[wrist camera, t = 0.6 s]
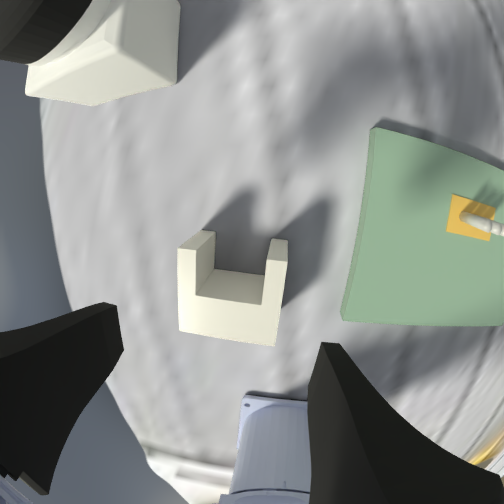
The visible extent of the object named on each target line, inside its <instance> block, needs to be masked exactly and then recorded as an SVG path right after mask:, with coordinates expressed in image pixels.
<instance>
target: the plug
mask: <svg viewBox="0 0 504 504" xmlns="http://www.w3.org/2000/svg"><path fill="white" fill-rule="evenodd" d="M215 241H216V232H213V231H204V230H200V231H199V232H198V233H196V234H195V235H194V236H192V237H191V238H190V239H189V240H187V241H186V242H185V243H183V244H182V245H181V246H179V247H178V310H179V331H184V332H189V333H194V334H199V335H205V336H210V337H216V338H221V339H227V340H234V341H240V342H247V343H253V344H261V345H268V346H275V341H276V335H277V329H278V323H279V317H280V310H281V304H282V297H283V291H284V284H285V277H286V270H287V263H288V240H282V239H273V238H272V239H271V243H270V248H269V252H268V256H267V262H266V271H265V276H264V275H257V274H249V273H241V272H234V271H227V270H219V269H214V261H215Z"/></svg>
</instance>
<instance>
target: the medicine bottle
mask: <svg viewBox="0 0 504 504" xmlns="http://www.w3.org/2000/svg"><path fill="white" fill-rule="evenodd" d="M180 10H181V6H180V4H179V2H178V1H177V0H0V60H5V61H11V62H17V63H21V64H26V65H29V69H28V75H27V81H26V89H25V93H26V95H28V96H34V97H41V98H48V99H55V100H61V101H67V102H73V103H78V104H83V105H88V106H96V105H99V104H103V103H106V102H109V101H112V100H115V99H119V98H122V97H126V96H130V95H133V94H137V93H141V92H145V91H149V90H154V89H158V88H163V87H168V86H172V85H175V84H176V82H177V59H178V38H179V22H180Z"/></svg>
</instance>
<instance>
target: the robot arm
mask: <svg viewBox="0 0 504 504" xmlns="http://www.w3.org/2000/svg"><path fill="white" fill-rule="evenodd" d="M123 351H124V348H123V342H122V337H121V331H120V325H119V319H118V312H117V306H116V305H113V304H109V303H105V302H102V303H98V304H94V305H91V306H88V307H85V308H82V309H79V310H76V311H73V312H71V313H68V314H65V315H62V316H59V317H57V318H54V319H51V320H47V321H44V322H41V323H38V324H35V325H32V326H28V327H25V328H21V329H16V330H11V331H7V332H0V504H6V502H8V503H9V504H33V503H32V502H31V501H30V500H28V499H27V498H26V497H25V496H23V495H22V494H21V493H20V492H19V491H17V490H16V489H15V488H14V487H13V486H12V485H11V484H9V483H8V482H7V481H6V480H5V479H4V478H5V477H6V475H7V474H8V475H9V476H10V477H11V478H12V479H13V480H15V481H17V479H18V478H20V479H21V480H22V481H23V482H24V483H26V484H27V485H28V486H29V487H31V488H32V489H33V490H35V491H36V492H37V493H38V494H40V495H48V494H49V490H50V486H51V482H52V478H53V474H54V471H55V468H56V465H57V462H58V459H59V456H60V454H61V451H62V449H63V447H64V445H65V442H66V440H67V438H68V436H69V434H70V432H71V430H72V428H73V426H74V424H75V422H76V420H77V419H78V417H79V415H80V414H81V412H82V411H83V409H84V408H85V407H86V405H87V404H88V403H89V401H90V400H91V399H92V397H93V396H94V395H95V393H96V392H97V391H98V389H99V388H100V387H101V385H102V384H103V383H104V381H105V380H106V379H107V377H108V376H109V375H110V373H111V372H112V371H113V369H114V367H115V365H116V364H117V362H118V360H119V358H120V356H121V354H122V352H123ZM246 403H248V404H246ZM237 449H238V454H237V458H236V463H235V468H234V472H233V477H232V481H231V486H230V490H229V495H226V494H221V496H220V500H219V504H504V487H503V484H502V481H501V478H500V476H499V475H498V474H495V473H493V472H490V471H487V470H485V469H482V468H479V467H477V466H475V465H472V464H470V463H468V462H466V461H464V460H462V459H460V458H459V457H457V456H455V455H453V454H451V453H450V452H448V451H446V450H445V449H443V448H441V447H440V446H438V445H437V444H436V443H434V442H433V441H431V440H430V439H428V438H427V437H426V436H424V435H423V434H422V433H420V432H419V431H418V430H417V429H415V428H414V427H413V426H412V425H411V424H410V423H408V422H407V421H406V420H405V419H404V418H403V417H402V416H401V415H399V414H398V413H397V412H396V411H395V410H394V409H393V408H392V407H391V406H390V405H389V404H388V402H387V401H386V400H385V399H384V398H383V397H382V396H381V395H380V394H379V393H378V392H377V390H376V389H375V388H374V387H373V386H372V385H371V383H370V382H369V381H368V380H367V379H366V377H365V376H364V375H363V374H362V372H361V371H360V370H359V368H358V367H357V366H356V365H355V363H354V362H353V361H352V359H351V358H350V357H349V355H348V354H347V353H346V351H345V350H344V349H343V347H342V346H341V345H340V344H339V343H328V342H321V345H320V349H319V352H318V356H317V359H316V363H315V366H314V369H313V373H312V376H311V379H310V382H309V385H308V401H295V400H284V399H274V398H266V397H258V396H251V395H245V396H243V398H242V404H241V414H240V423H239V432H238V441H237ZM213 504H217V503H213Z"/></svg>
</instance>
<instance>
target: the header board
mask: <svg viewBox="0 0 504 504" xmlns="http://www.w3.org/2000/svg"><path fill="white" fill-rule="evenodd" d="M340 313H341V316H342V320H343V321H352V322H365V323H379V324H397V325H420V326H502V325H503V323H504V171H503V170H501V169H499V168H496V167H494V166H492V165H490V164H487V163H485V162H483V161H480V160H478V159H476V158H473V157H471V156H468V155H466V154H463V153H460V152H458V151H455V150H452V149H450V148H447V147H444V146H441V145H438V144H435V143H432V142H429V141H426V140H422V139H419V138H416V137H412V136H409V135H405V134H401V133H398V132H394V131H390V130H386V129H382V128H378V127H375V128H373V129H371V130H370V139H369V150H368V160H367V169H366V178H365V186H364V193H363V200H362V207H361V213H360V219H359V225H358V231H357V237H356V242H355V247H354V253H353V258H352V262H351V267H350V272H349V276H348V281H347V285H346V290H345V294H344V298H343V302H342V306H341V310H340Z"/></svg>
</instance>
